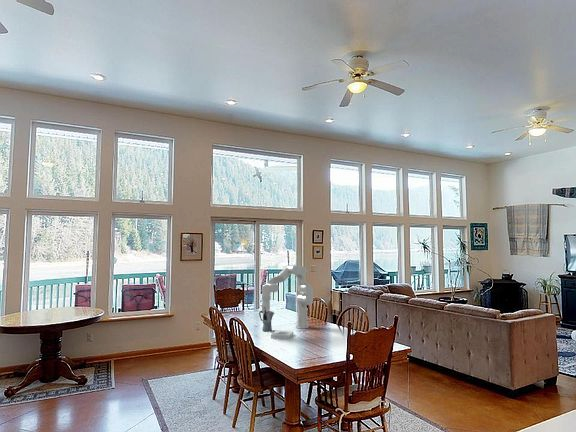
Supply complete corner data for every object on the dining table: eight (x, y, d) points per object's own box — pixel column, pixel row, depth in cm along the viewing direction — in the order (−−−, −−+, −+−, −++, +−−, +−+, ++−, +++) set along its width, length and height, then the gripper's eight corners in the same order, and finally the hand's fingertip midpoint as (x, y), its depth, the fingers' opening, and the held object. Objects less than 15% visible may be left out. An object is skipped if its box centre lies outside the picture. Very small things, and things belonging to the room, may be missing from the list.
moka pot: (273, 332, 349) (273, 310, 350) (257, 331, 352) (257, 309, 353) (275, 329, 358) (275, 308, 360) (260, 329, 361) (260, 307, 363)
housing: (276, 333, 343) (276, 330, 343) (293, 334, 339) (293, 331, 339) (271, 338, 327) (270, 334, 327) (288, 339, 323) (288, 335, 323)
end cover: (264, 322, 339) (264, 309, 339) (270, 322, 337) (270, 309, 338) (261, 323, 333) (261, 310, 334) (268, 324, 331) (268, 311, 332)
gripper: (265, 297, 346) (265, 317, 344) (259, 299, 329) (259, 320, 328) (273, 297, 344) (273, 317, 343) (267, 300, 327) (267, 321, 326)
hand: (266, 319), depth 335 cm, fingers closed on end cover, 6 cm apart
